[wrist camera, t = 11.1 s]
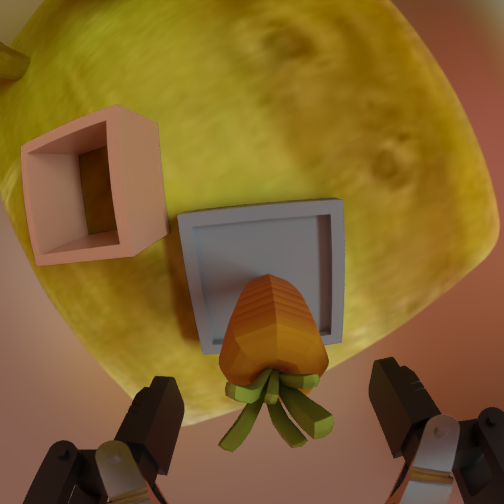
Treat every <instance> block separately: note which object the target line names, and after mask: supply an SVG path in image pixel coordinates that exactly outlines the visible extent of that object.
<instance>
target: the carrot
mask: <svg viewBox="0 0 504 504" xmlns="http://www.w3.org/2000/svg"><path fill="white" fill-rule="evenodd" d="M328 363H329V359H328V355H327V352H326V350H325V347H324V344H323V341H322V339H321V336H320V333H319V331H318V328H317V325H316V323H315V321H314V318H313V316H312V314H311V312H310V310H309V308H308V306H307V304H306V302H305V300H304V298H303V296H302V294H301V293H300V292H299V291H298V290H297V289H296V288H295V287H294V286H293V285H292V284H291V283H290V282H288V281H287V280H284V279H281V278H279V277H276V276H274V275H271V274H266V275H264V276H261V277H259V278H256V279H254V280H251V281H249V282H248V283H247V284H246V286H245V287H244V289H243V290H242V292H241V294H240V296H239V298H238V301H237V303H236V306H235V308H234V310H233V313H232V315H231V317H230V320H229V323H228V326H227V330H226V333H225V336H224V340H223V344H222V348H221V352H220V356H219V366H220V369H221V371H222V372H223V374H224V375H225V377H226V378H227V380H228V381H229V382H227V383H226V387H225V394H226V396H228V397H230V398H232V399H234V400H236V401H239V402H245V403H247V405H246V406H245V408H244V409H243V411H242V413H241V414H240V415H239V417H238V419H237V420H236V421H235V423H234V424H233V426H232V427H231V428H230V429H229V431H228V432H227V433H226V434H225V435H224V437H223V438H222V440H221V441H220V442H219V444H218V445H219V446H220V447H221V448H222V449H224V450H227V451H231V452H233V451H235V450H236V449H237V448H238V447H239V446H240V445H241V444H242V442H243V441H244V439H245V438H246V437H247V435H248V434H249V432H250V431H251V429H252V427H253V424H254V422H255V420H256V418H257V416H258V413H259V411H260V409H261V407H262V404H263V403H266V404H267V407H268V411H269V414H270V417H271V420H272V423H273V425H274V426H275V428H276V429H277V431H278V432H279V434H280V435H281V437H282V438H283V439H284V440H285V441H286V442H287V443H288V444H289V446H290V447H291V448H296V447H302V445H304V444H305V443H306V442H307V441H308V440H307V439H306V437H305V436H304V435H303V434H302V433H301V431H300V430H299V429H298V428H297V427H296V426H295V425H294V424H293V422H292V421H291V420H290V419H289V418H288V416H287V414H286V412H285V410H284V409H283V407H282V405H281V403H284V405H285V407H286V408H287V410H288V411H289V413H290V415H291V416H292V417H293V418H294V420H295V421H296V422H297V423H298V424H299V426H300V427H301V428H302V429H303V430H304V431H305V432H306V433H307V434H308V435H310V436H311V437H312V438H313V439H319V438H323V437H325V436H326V435H327V434H329V433H330V432H331V431H332V428H333V425H334V421H333V415H332V414H331V413H329V412H328V411H327V410H325V409H324V408H323V407H322V406H320V405H318V404H317V403H315V402H314V401H312V400H311V399H309V398H308V397H307V396H306V395H307V394H309V393H310V392H311V390H312V389H313V388H314V387H316V386H317V385H318V383H319V381H320V377H321V376H322V374H323V373H324V372H325V370H326V369H327V367H328Z"/></svg>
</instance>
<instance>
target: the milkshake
mask: <svg viewBox="0 0 504 504" xmlns="http://www.w3.org/2000/svg"><path fill="white" fill-rule="evenodd" d="M29 63H30V57H28V56H26V55H24V54H22V53H20V52H18V51H16V50H14V49H12V48H10V47H8V46H6V45H5V44H3V43H1V42H0V78H6V79H13V80H18V79H19V78H21V77H22V76H23V75H24V73H25V72H26V71H27V68H28V66H29Z"/></svg>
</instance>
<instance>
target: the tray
mask: <svg viewBox="0 0 504 504" xmlns="http://www.w3.org/2000/svg"><path fill="white" fill-rule="evenodd" d="M177 219H178V226H179V233H180V239H181V246H182V252H183V258H184V264H185V269H186V275H187V280H188V286H189V291H190V296H191V301H192V306H193V311H194V316H195V321H196V325H197V330H198V334H199V339H200V343H201V347H202V352H203V354H220V352H221V348H222V344H223V340H224V336H225V333H226V330H227V326H228V323H229V320H230V317H231V315H232V313H233V310H234V308H235V306H236V303H237V301H238V298H239V296H240V294H241V292H242V290H243V289H244V287H245V286H246V284H247V283H248V282H249V281H251V280H254V279H256V278H259V277H261V276H264V275H266V274H271V275H274V276H276V277H279V278H281V279H284V280H287V281H288V282H290V283H291V284H292V285H293V286H294V287H295V288H296V289H297V290H298V291H299V292H300V293H301V294H302V296H303V298H304V300H305V302H306V304H307V306H308V308H309V310H310V312H311V314H312V316H313V318H314V321H315V323H316V325H317V328H318V331H319V333H320V336H321V339H322V341H323V344H324V345H329V344H336V343H342V332H343V314H344V286H345V236H344V208H343V199H339V198H320V199H305V200H292V201H279V202H268V203H257V204H246V205H237V206H227V207H218V208H209V209H201V210H193V211H185V212H182V213H180V214H178V215H177Z"/></svg>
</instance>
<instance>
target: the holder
mask: <svg viewBox="0 0 504 504" xmlns="http://www.w3.org/2000/svg"><path fill="white" fill-rule="evenodd" d="M105 146H107V147H108V161H109V172H110V181H111V190H112V198H113V205H114V212H115V218H116V224H117V230H114V231H108V232H101V233H95V234H89V232H88V227H87V221H86V215H85V208H84V201H83V194H82V185H81V175H80V164H79V155H81V154H84V153H87V152H90V151H93V150H96V149H99V148H102V147H105ZM21 166H22V181H23V192H24V201H25V209H26V216H27V222H28V228H29V234H30V239H31V244H32V249H33V253H34V257H35V262H36V266H45V265H54V264H64V263H73V262H83V261H93V260H103V259H112V258H122V257H132V256H135V255H137V254H138V253H140V252H141V251H143V250H144V249H146V248H147V247H149V246H150V245H152V244H153V243H155V242H156V241H158V240H159V239H161V238H162V237H164V236H166V235H167V234H169V233H170V229H169V222H168V215H167V208H166V201H165V193H164V184H163V176H162V166H161V156H160V145H159V132H158V123H156V122H154V121H152V120H150V119H148V118H146V117H144V116H141V115H139V114H137V113H135V112H133V111H131V110H129V109H127V108H124V107H122V106H120V105H118V104H116V105H113V106H110V107H107V108H105V109H102V110H99V111H96V112H94V113H91V114H88V115H86V116H83V117H81V118H79V119H76V120H74V121H71V122H69V123H67V124H64V125H62V126H60V127H58V128H56V129H54V130H51V131H49V132H47V133H45V134H43V135H41V136H39V137H37V138H35V139H34V140H32V141H30V142H28V143H26V144H24V145H22V146H21Z"/></svg>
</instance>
